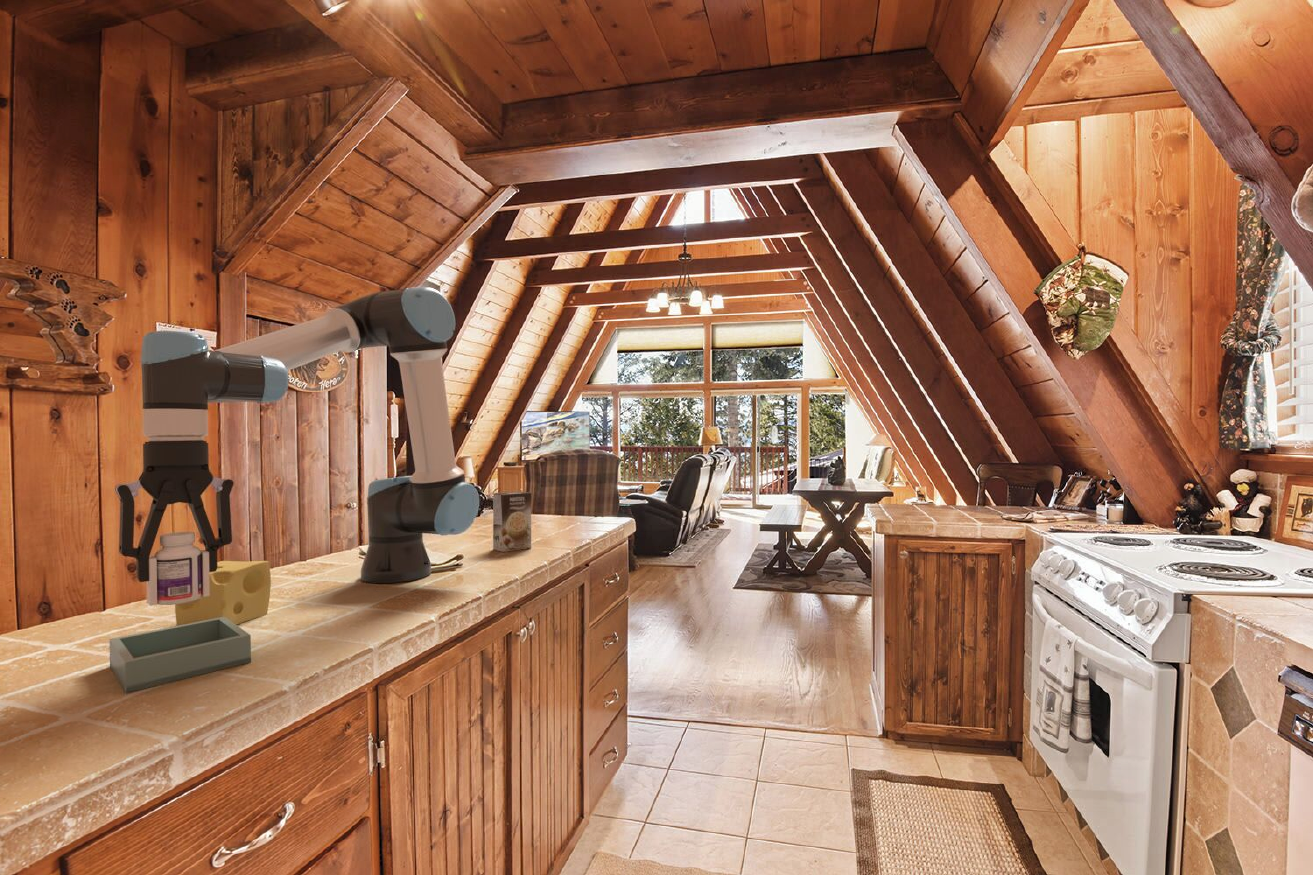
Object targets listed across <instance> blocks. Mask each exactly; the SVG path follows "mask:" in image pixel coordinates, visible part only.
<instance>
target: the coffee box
mask: <svg viewBox="0 0 1313 875" xmlns="http://www.w3.org/2000/svg"><path fill="white" fill-rule="evenodd" d="M492 509H493V510H492V526H493V527H492V529H493V530H492V549H493V550H494V551H498V552H502V553H505V552H513V551H520V550H521V549H522V550H528V549H527V548H529V549H532V492H530V491H529V492H527V491H509V492H493V495H492Z"/></svg>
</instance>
